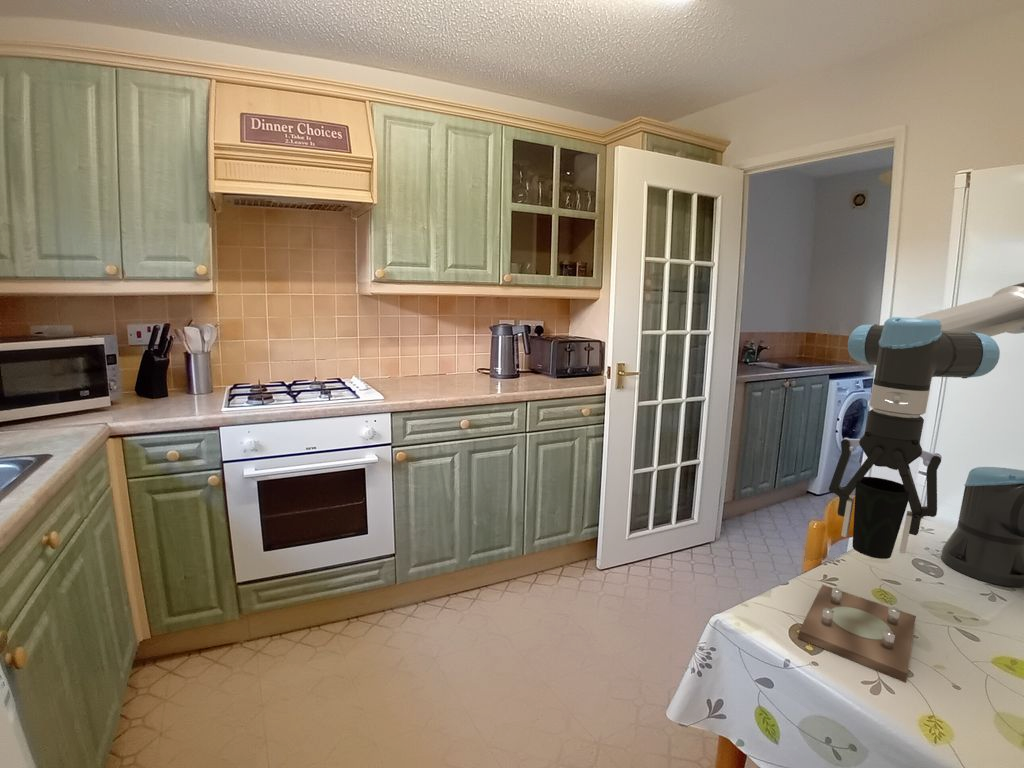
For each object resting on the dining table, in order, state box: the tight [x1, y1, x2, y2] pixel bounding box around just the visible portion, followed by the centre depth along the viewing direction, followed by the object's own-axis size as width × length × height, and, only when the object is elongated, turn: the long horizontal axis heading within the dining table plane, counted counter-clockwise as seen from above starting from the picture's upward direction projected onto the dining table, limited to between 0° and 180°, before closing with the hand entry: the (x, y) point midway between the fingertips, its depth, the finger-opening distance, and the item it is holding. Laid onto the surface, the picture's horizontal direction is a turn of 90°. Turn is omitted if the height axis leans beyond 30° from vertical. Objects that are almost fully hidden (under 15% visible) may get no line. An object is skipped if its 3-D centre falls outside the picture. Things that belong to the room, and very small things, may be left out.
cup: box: [851, 476, 909, 560], centre depth 90 cm, size 8×8×12 cm
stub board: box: [797, 584, 917, 683], centre depth 93 cm, size 15×20×4 cm
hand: (872, 541), depth 91 cm, fingers closed on cup, 8 cm apart
